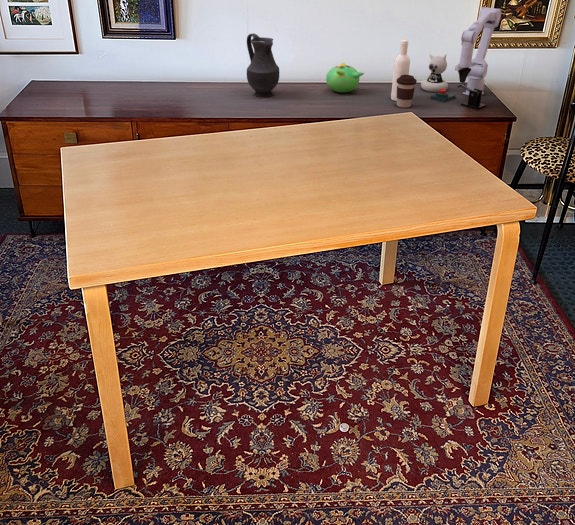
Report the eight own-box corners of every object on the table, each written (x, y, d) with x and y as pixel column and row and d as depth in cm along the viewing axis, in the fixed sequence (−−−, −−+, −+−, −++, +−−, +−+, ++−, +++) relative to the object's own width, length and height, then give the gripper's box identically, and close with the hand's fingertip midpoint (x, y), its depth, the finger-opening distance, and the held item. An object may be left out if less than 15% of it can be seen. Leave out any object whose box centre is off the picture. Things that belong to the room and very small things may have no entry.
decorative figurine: (415, 89, 350) (419, 52, 340) (428, 84, 360) (433, 48, 349) (439, 95, 342) (444, 57, 332) (452, 89, 352) (457, 52, 341)
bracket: (460, 105, 327) (463, 89, 323) (469, 102, 332) (471, 86, 328) (477, 110, 321) (480, 94, 317) (486, 107, 326) (489, 90, 322)
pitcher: (260, 101, 328) (260, 41, 312) (236, 92, 341) (234, 34, 325) (285, 95, 337) (286, 36, 322) (261, 86, 351) (260, 29, 335)
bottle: (395, 95, 340) (401, 37, 324) (408, 98, 336) (415, 40, 320) (388, 99, 334) (394, 40, 318) (401, 102, 330) (408, 42, 315)
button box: (442, 94, 343) (443, 88, 341) (455, 98, 338) (456, 91, 336) (430, 98, 336) (431, 92, 334) (443, 102, 331) (444, 95, 330)
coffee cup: (412, 103, 329) (416, 74, 321) (414, 109, 321) (417, 79, 313) (393, 102, 330) (396, 73, 322) (394, 108, 321) (397, 78, 314)
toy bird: (351, 86, 354) (353, 59, 346) (364, 95, 340) (366, 67, 333) (321, 88, 349) (322, 61, 341) (332, 97, 335) (334, 69, 328)
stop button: (441, 91, 337) (441, 88, 336) (447, 93, 335) (447, 90, 334) (437, 93, 335) (437, 89, 334) (443, 94, 332) (443, 91, 331)
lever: (456, 88, 327) (458, 84, 325) (463, 86, 330) (465, 81, 329) (473, 98, 322) (475, 94, 320) (480, 96, 325) (481, 91, 324)
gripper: (465, 59, 313) (460, 86, 320) (481, 54, 321) (476, 81, 328) (453, 56, 317) (449, 83, 324) (469, 52, 326) (464, 78, 333)
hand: (462, 82), depth 327 cm, fingers closed
